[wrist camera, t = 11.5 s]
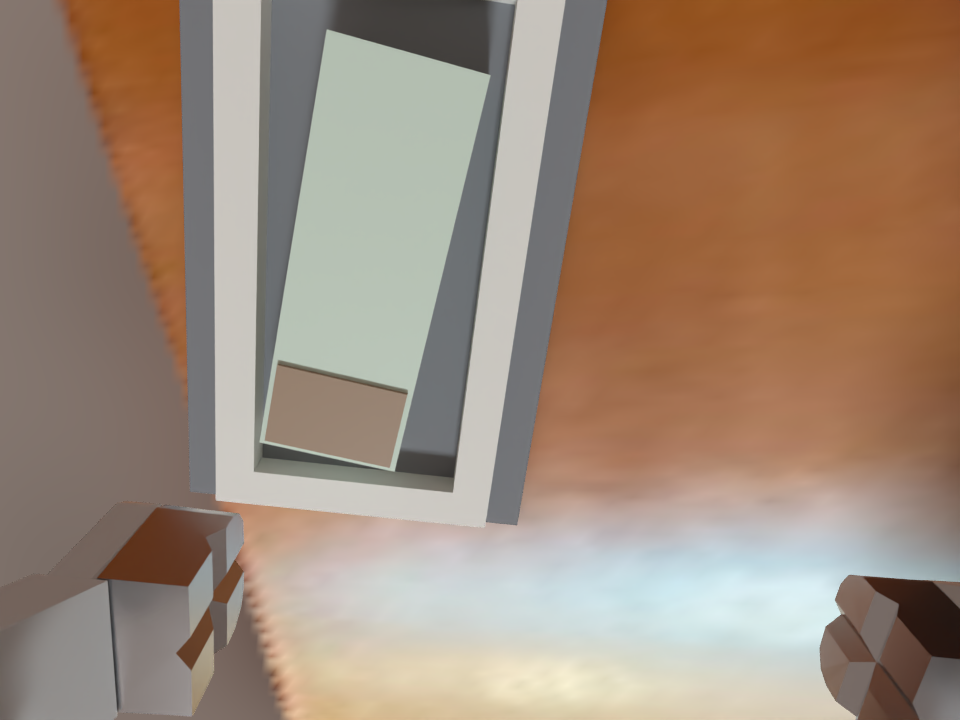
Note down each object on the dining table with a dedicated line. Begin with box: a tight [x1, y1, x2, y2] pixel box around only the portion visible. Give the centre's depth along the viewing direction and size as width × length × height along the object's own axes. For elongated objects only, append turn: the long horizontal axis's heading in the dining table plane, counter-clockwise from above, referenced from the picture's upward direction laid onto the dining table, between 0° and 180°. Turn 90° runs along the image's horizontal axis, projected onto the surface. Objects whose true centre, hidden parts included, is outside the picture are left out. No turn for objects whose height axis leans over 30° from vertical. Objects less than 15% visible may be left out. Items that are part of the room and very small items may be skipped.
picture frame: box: [180, 0, 607, 528], centre depth 25 cm, size 22×14×2 cm, turn 173°
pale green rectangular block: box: [260, 30, 491, 472], centre depth 24 cm, size 5×14×3 cm, turn 166°
